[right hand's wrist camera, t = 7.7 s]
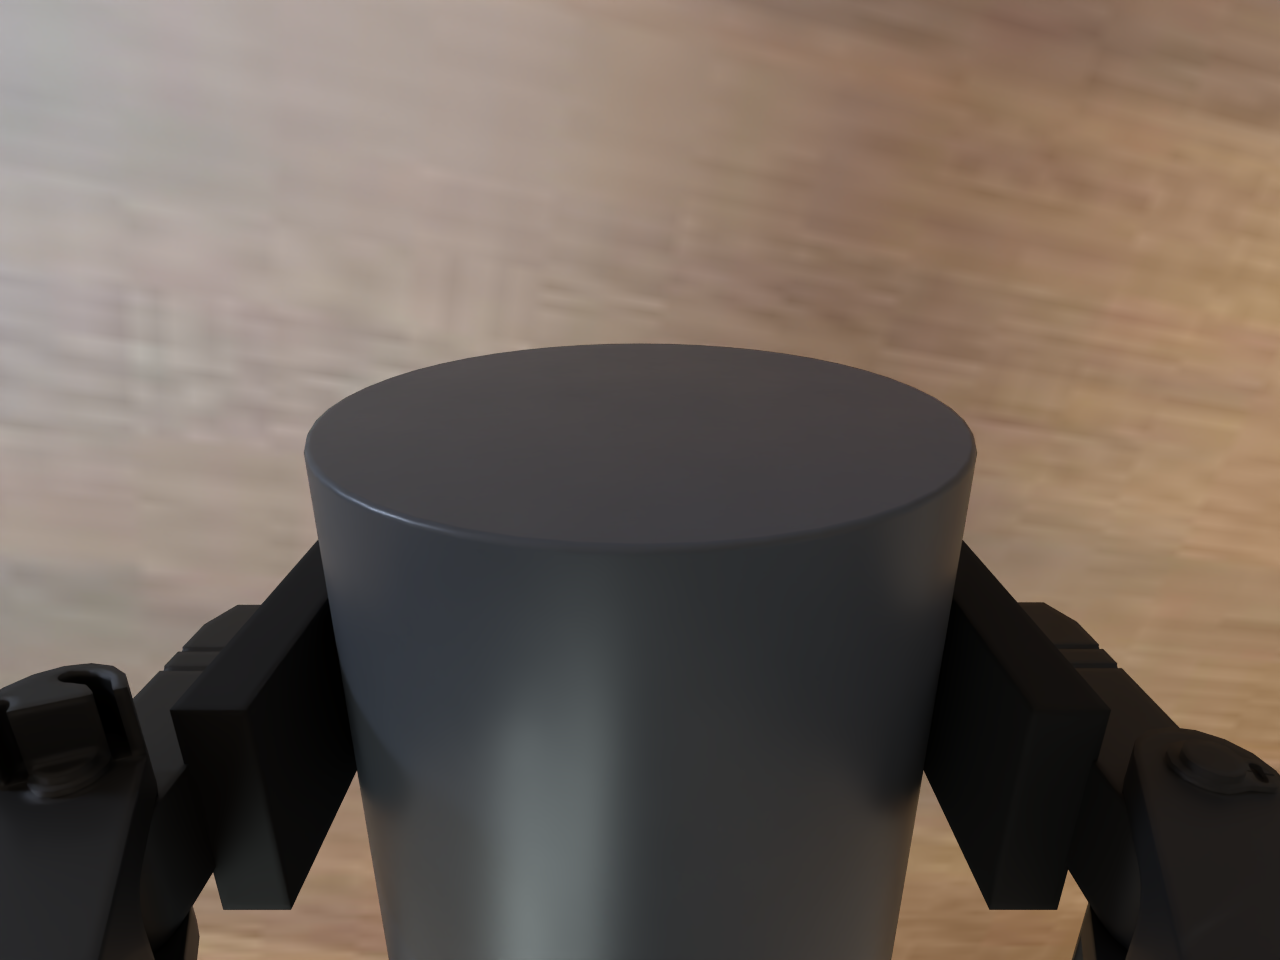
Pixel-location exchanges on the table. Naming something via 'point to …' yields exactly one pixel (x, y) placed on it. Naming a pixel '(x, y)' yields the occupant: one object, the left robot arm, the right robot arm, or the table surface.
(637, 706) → the rod
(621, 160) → the table surface
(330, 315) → the table surface
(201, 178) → the table surface
